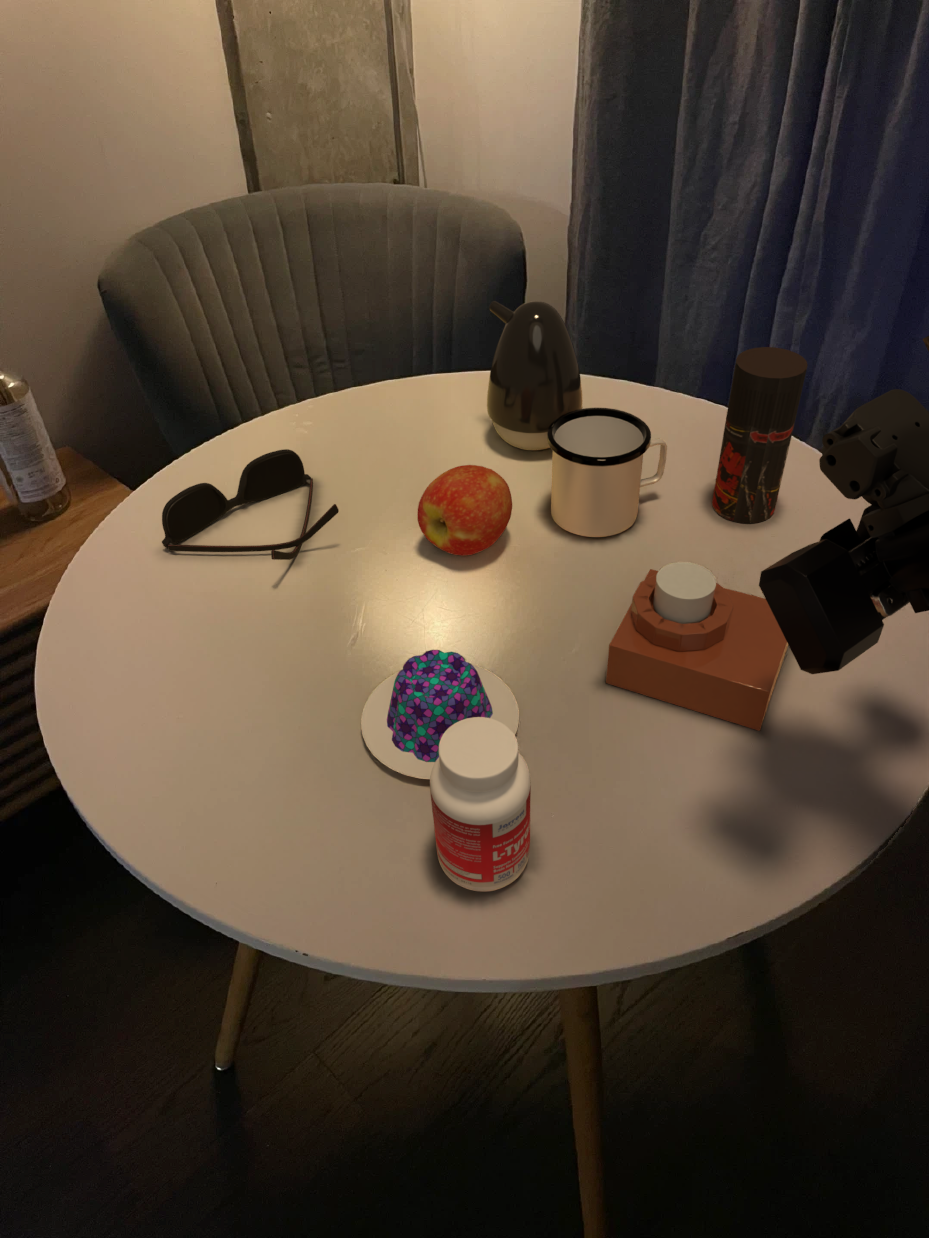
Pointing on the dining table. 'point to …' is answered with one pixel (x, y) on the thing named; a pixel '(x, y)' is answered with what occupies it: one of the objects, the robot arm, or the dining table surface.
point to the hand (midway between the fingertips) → (794, 583)
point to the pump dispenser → (532, 374)
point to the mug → (599, 469)
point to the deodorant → (757, 433)
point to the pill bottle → (481, 805)
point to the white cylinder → (684, 592)
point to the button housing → (701, 655)
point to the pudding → (430, 709)
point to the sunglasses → (255, 484)
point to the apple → (465, 509)
